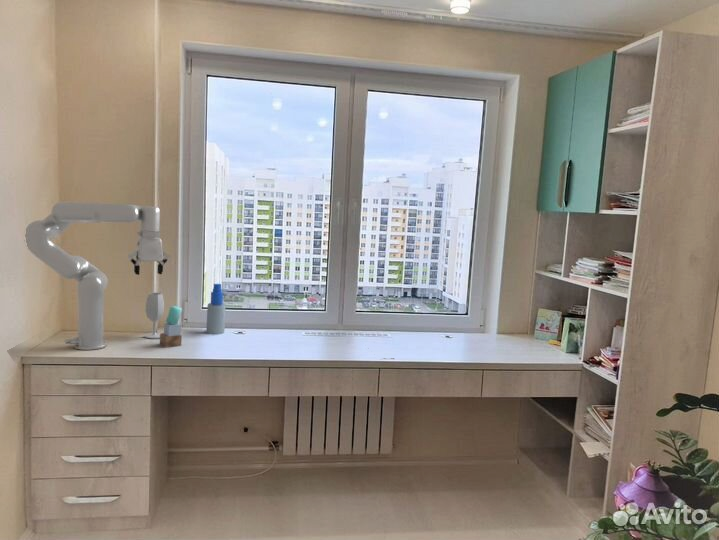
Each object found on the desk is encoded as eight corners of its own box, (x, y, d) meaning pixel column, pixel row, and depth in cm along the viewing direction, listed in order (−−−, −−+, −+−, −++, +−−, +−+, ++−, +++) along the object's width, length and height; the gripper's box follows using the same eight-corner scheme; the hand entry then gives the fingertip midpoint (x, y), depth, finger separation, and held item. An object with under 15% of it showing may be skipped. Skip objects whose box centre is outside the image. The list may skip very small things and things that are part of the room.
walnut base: (165, 347, 224) (166, 336, 224) (159, 344, 230) (160, 333, 229) (181, 346, 229) (181, 335, 229) (174, 342, 234) (175, 332, 234)
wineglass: (167, 335, 245) (168, 293, 243) (158, 339, 236) (159, 295, 234) (150, 334, 246) (151, 291, 244) (140, 338, 237) (141, 294, 235)
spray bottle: (205, 333, 254) (207, 284, 251) (207, 329, 263) (209, 282, 260) (223, 334, 256) (225, 285, 253) (225, 330, 264) (227, 283, 262)
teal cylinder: (173, 325, 225) (177, 310, 224) (163, 320, 226) (168, 306, 225) (179, 323, 230) (184, 309, 229) (170, 319, 231) (175, 305, 230)
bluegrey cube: (168, 336, 225) (169, 325, 225) (163, 333, 229) (164, 322, 228) (180, 335, 229) (181, 324, 228) (175, 332, 233) (175, 321, 232)
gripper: (132, 235, 210) (131, 275, 212) (173, 236, 222) (171, 274, 224) (126, 233, 216) (124, 273, 218) (166, 235, 228) (164, 272, 229)
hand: (148, 274), depth 221 cm, fingers open, 9 cm apart
